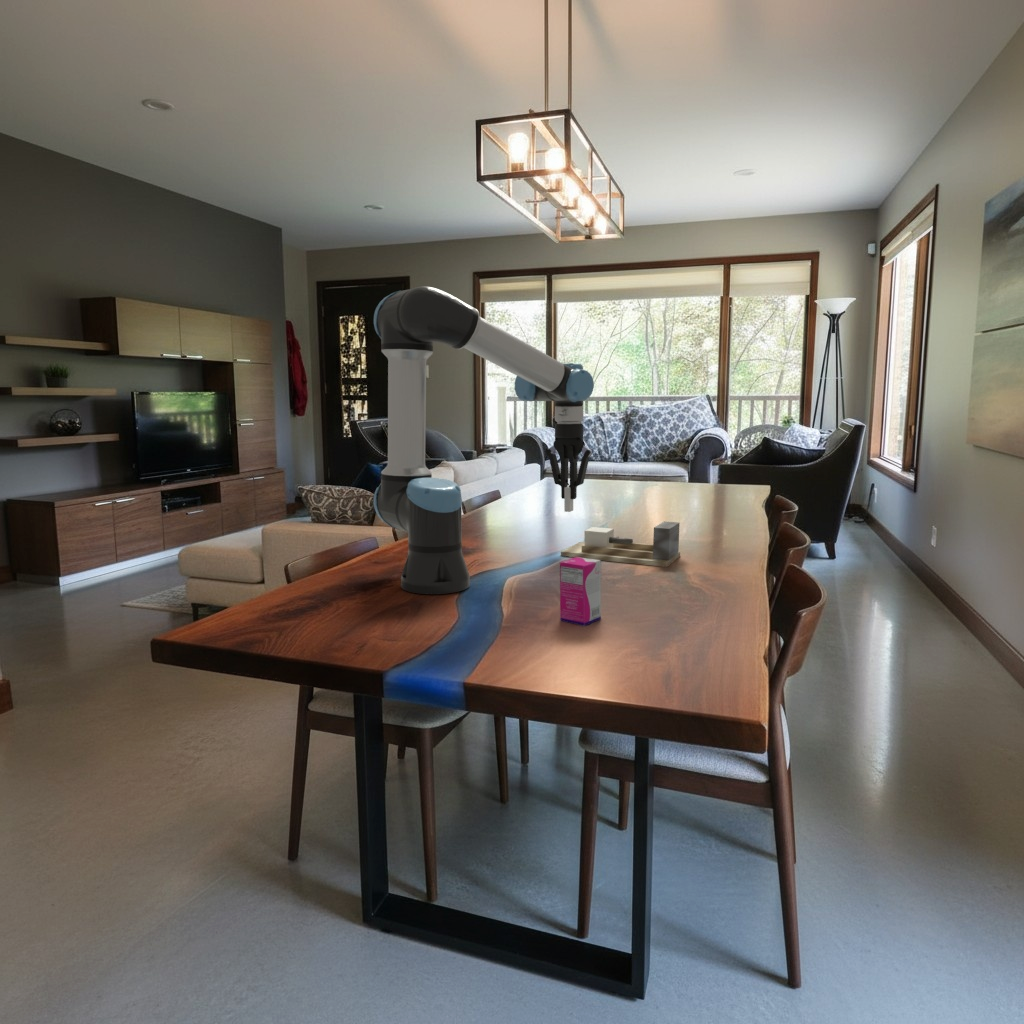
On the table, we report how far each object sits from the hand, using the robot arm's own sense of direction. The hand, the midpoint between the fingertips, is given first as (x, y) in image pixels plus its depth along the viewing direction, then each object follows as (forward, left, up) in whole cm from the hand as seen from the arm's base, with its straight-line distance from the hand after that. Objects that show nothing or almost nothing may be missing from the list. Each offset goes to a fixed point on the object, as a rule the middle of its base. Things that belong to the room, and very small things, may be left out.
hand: (568, 510), depth 203 cm
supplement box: (+25, -57, -11) cm, 64 cm away
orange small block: (+13, +6, -9) cm, 17 cm away
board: (+15, 0, -11) cm, 18 cm away
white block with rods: (+12, +2, -9) cm, 15 cm away
